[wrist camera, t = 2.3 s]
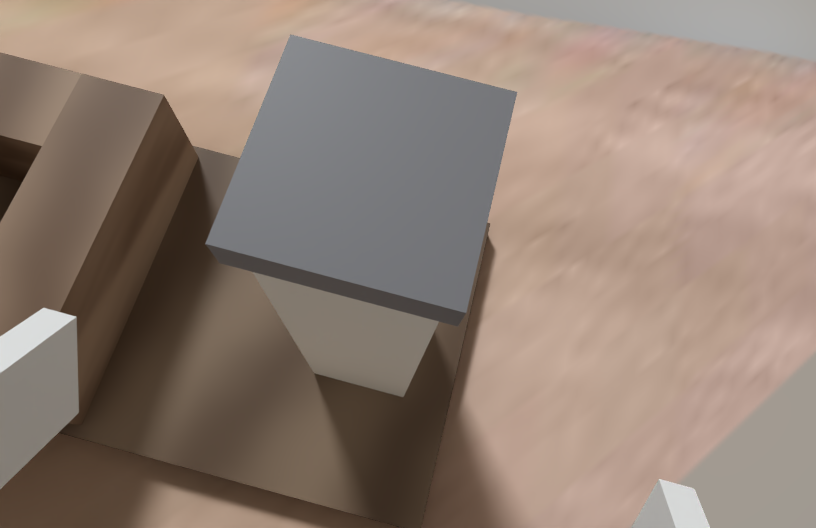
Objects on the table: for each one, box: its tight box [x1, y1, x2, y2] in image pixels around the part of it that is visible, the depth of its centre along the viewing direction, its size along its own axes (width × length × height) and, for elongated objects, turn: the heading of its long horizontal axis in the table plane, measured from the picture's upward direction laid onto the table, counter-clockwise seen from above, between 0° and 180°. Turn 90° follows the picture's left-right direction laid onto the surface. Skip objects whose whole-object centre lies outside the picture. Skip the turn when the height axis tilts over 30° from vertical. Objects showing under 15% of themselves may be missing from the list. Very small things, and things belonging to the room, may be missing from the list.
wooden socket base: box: [0, 53, 490, 528], centre depth 24 cm, size 29×14×6 cm, turn 76°
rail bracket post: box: [205, 35, 517, 397], centre depth 18 cm, size 5×5×16 cm
